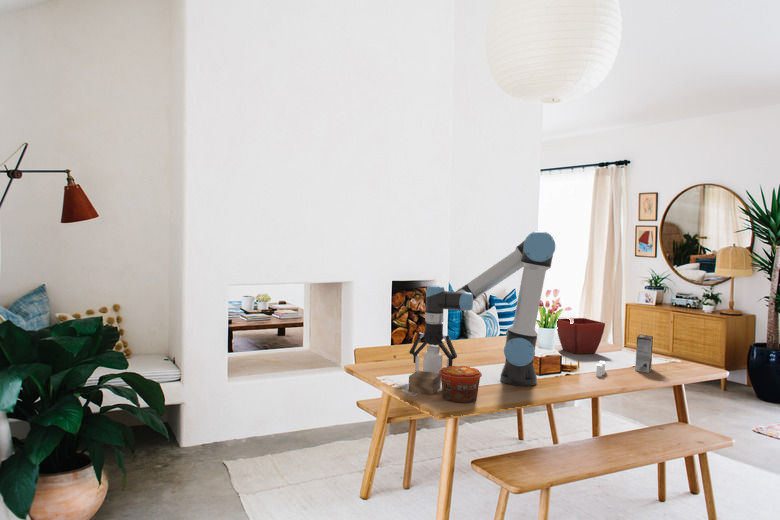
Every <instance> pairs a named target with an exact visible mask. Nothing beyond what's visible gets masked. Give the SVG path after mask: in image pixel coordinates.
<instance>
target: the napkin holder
mask: <svg viewBox="0 0 780 520" xmlns="http://www.w3.org/2000/svg"><path fill="white" fill-rule="evenodd" d="M605 371H606V361H605V360H599V363H596V374H595V376H596V377H603V375H605Z"/></svg>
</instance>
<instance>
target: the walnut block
mask: <svg viewBox="0 0 780 520" xmlns="http://www.w3.org/2000/svg"><path fill="white" fill-rule="evenodd" d="M441 385H442V382H441V374H440V373H432V372H424V371H423V370H419V371H414V372H413V373H412V374H410V375H409V376H408V392H411V393H417V394H425V395H430V396H431V395H434V394H435V393H437V392H438V391H439V390H440V389H441Z"/></svg>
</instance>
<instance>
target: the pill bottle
mask: <svg viewBox="0 0 780 520" xmlns="http://www.w3.org/2000/svg"><path fill="white" fill-rule="evenodd" d="M440 351H441V348H440V347H439V346H438V345H429V344H428V345H426V352H424V354H423V360H422V361H423V363H422V364H423V365H422V371H424V372H432V373H439V371H440V370H441V369H442V368H443V358H444V357H443V354H442V353H441V352H440Z"/></svg>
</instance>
